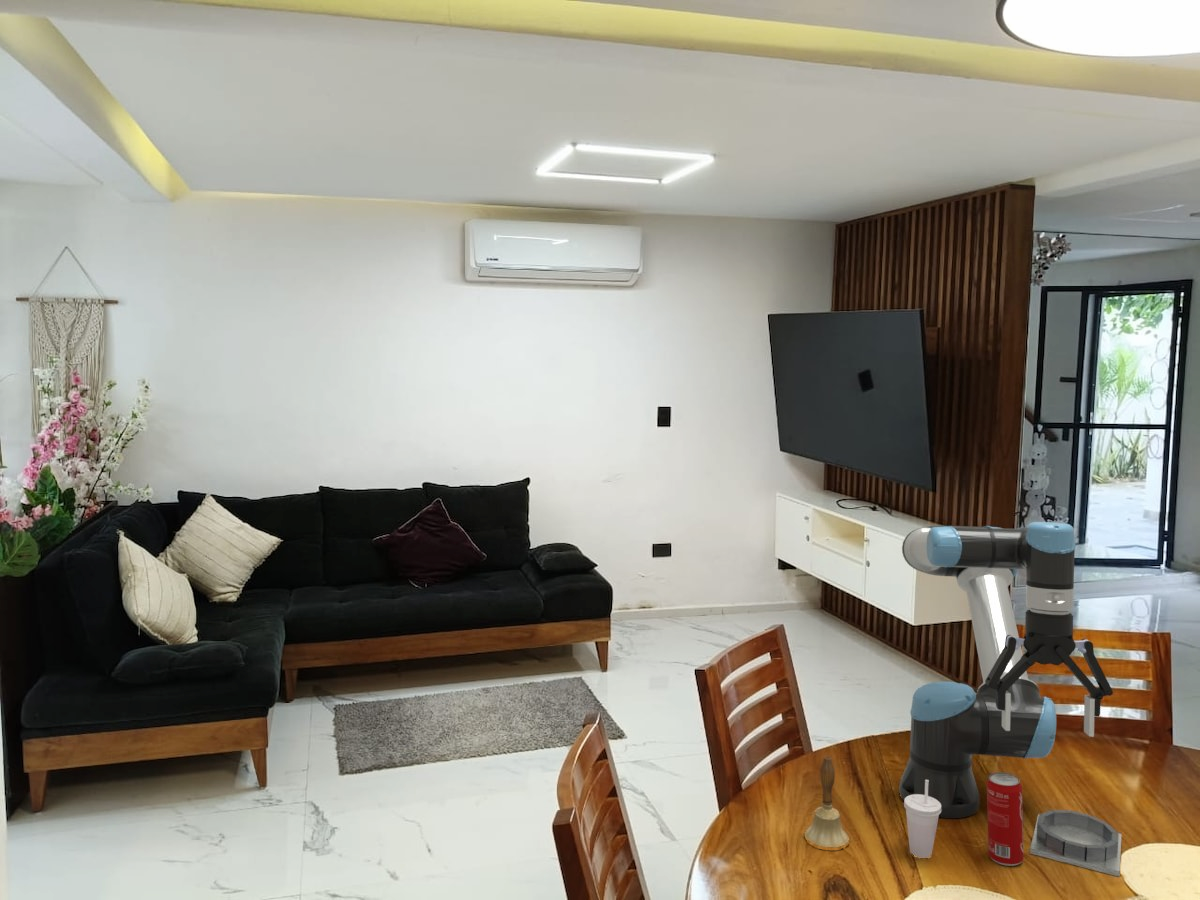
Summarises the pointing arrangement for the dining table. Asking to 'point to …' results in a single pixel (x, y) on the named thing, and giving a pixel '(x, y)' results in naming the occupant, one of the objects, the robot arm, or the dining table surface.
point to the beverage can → (1005, 819)
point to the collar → (1077, 841)
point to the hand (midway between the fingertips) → (1047, 731)
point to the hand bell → (827, 813)
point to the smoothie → (922, 822)
